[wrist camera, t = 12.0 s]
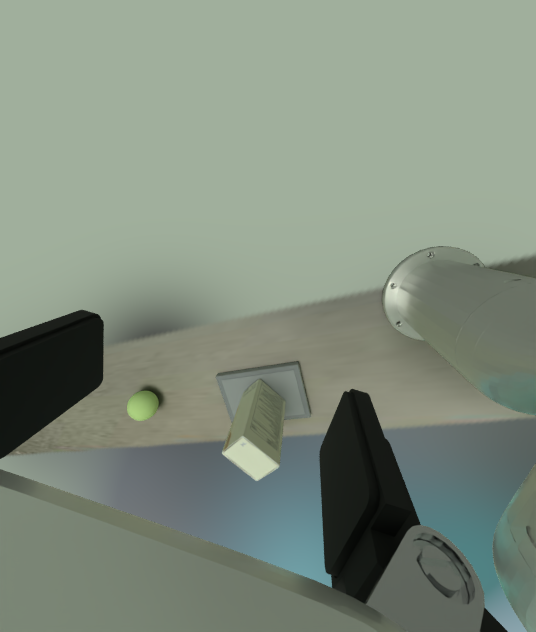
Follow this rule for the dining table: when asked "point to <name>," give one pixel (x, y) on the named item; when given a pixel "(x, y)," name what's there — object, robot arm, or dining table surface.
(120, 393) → the dining table surface
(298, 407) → the metal tray
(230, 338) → the dining table surface
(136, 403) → the lime
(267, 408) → the skincare box
